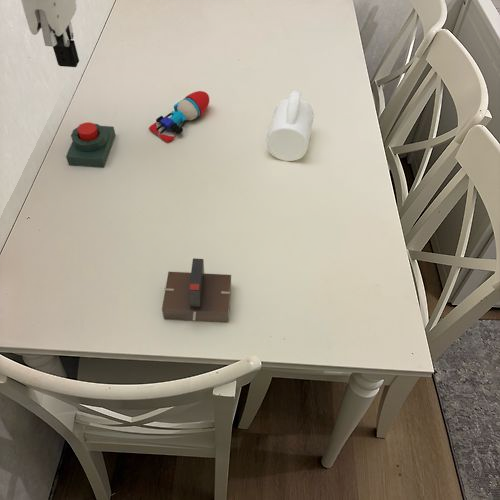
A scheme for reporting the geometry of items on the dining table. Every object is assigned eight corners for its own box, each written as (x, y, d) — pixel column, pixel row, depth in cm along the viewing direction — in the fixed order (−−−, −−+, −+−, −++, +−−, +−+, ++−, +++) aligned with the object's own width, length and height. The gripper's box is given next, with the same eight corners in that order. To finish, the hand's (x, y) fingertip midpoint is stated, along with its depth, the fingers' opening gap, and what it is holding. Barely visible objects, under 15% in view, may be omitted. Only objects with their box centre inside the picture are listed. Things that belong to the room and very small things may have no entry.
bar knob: (194, 275, 77) (192, 257, 73) (204, 275, 77) (203, 257, 73) (190, 307, 73) (188, 290, 69) (200, 308, 73) (199, 291, 69)
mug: (264, 158, 99) (269, 108, 89) (273, 126, 105) (277, 77, 96) (304, 164, 98) (313, 115, 89) (310, 132, 104) (319, 83, 95)
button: (95, 141, 94) (93, 134, 93) (77, 140, 94) (75, 133, 93) (100, 130, 96) (98, 122, 95) (82, 128, 96) (80, 121, 95)
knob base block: (161, 328, 74) (159, 318, 72) (170, 273, 80) (169, 262, 78) (228, 331, 74) (228, 321, 72) (232, 277, 80) (232, 266, 78)
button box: (104, 167, 95) (100, 151, 92) (68, 165, 95) (63, 149, 92) (115, 135, 101) (112, 119, 98) (82, 132, 101) (77, 116, 98)
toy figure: (171, 150, 101) (220, 109, 106) (165, 132, 97) (216, 91, 102) (148, 136, 105) (197, 97, 110) (141, 118, 101) (192, 79, 106)
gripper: (27, -76, 73) (60, 40, 88) (-11, -34, 64) (33, 88, 79) (77, -73, 73) (101, 43, 88) (46, -30, 64) (79, 91, 79)
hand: (69, 64), depth 83 cm, fingers closed
